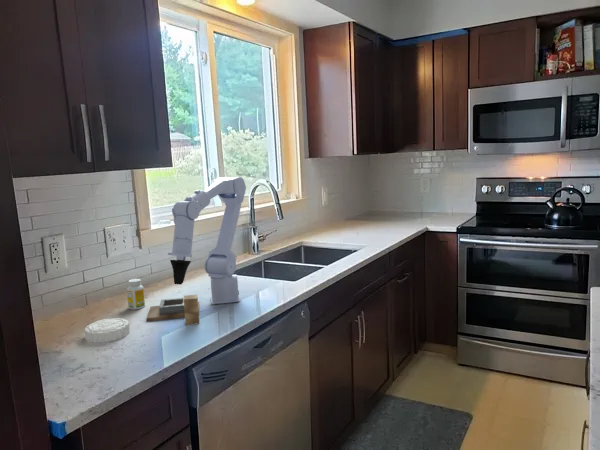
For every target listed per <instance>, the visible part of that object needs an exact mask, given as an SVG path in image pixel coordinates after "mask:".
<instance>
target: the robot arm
mask: <svg viewBox="0 0 600 450" xmlns="http://www.w3.org/2000/svg"><path fill="white" fill-rule="evenodd" d="M246 190H247V186H246V182H245V180H244V178H243V177H242V176H236V177H229V176H228V177H227V176H226V177H221V176H218V177H216V178H215V179H213V182H212V183H211V184H210V185H209V186H208V187H207V188H205V189H204V190H202V189H196V190H194V192H193V194H191V195H190V196H186V197H185V199H184V200H179V201H177V202H176V203H175V204H174V205H173V206H172V207H173V208H171V213H172V216H173V223H174V231H173V242H172V251H171V252H168V253H167V255H168V256H176V259H170V260H169V262H170V264H171V267H172V273H173V283H174V285H183V283H184V282H185V277H186V274H187V270H188V268H189V265H190V264H191V263H192V261H191V260H186V257H188V258H192V256H193V255H192V250H193V239H194V238H193V237H194V228H195V220H196V219H198V218H199V216H200V213H201V212H202V211H203V210H205V208H206V207H208V206H209V205H210V204H211V200H212V199H214V198H216V197H217V196H218V198H219V199H220V201H221V202H222V203H224V204H225V208H224V212H223V217H222V220H221V225H220V229H219V234H218V237H217V242H216V246H215V247H214V248H213V249H211V250H210V251H208V252H209V253H208V255H207V258H206V259H205V261H204V266H203V267H204V272H206V274H208V277H210V290H211V296H210V304H211V305H217V304H220V305H221V304H229V303H238V302H240V296H239V295H240V291H239V282H238V275H237V274H235V272H236V268H237V262H236V261H237V255H236V254H235V253H234V251H233V250H232V248H233V243H234V239H235V234H236V230H237V226H238V222H239V221H238V220H239V216H240V212H241V208H242V203H243V202H244V199H245V194H246Z"/></svg>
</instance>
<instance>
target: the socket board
mask: <svg viewBox="0 0 600 450" xmlns="http://www.w3.org/2000/svg"><path fill="white" fill-rule="evenodd" d="M198 310H199V311H200V301H198ZM181 318H184V319H185V311H184V297H176V298H165V299H160V303H159V305H152V306H150V308H149V310H148V313H147V316H146V322H152V321H164V320H173V319H181Z"/></svg>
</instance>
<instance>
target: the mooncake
mask: <svg viewBox="0 0 600 450" xmlns="http://www.w3.org/2000/svg"><path fill="white" fill-rule="evenodd" d="M83 331H84V337H85V342H89V343H94V344H96V343H98V344H102V343H109V342H113V341H117V340H121V339H123V338H124V337H127V336H128V335H129V333H130V331H131V329H130V322H129V320H128V319H125V318H120V317H115V318H104V319H99V320H97V321H94V322H92V323H89V324H88V325H86V327H85V328H84V330H83Z"/></svg>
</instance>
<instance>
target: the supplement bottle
mask: <svg viewBox="0 0 600 450" xmlns="http://www.w3.org/2000/svg"><path fill="white" fill-rule="evenodd" d="M127 282H128V286H127V288H126V294H127V295H126V296H127V307H128V309H129V310H140V309H143V308H145V306H146V303H145V291H144V286H143V285H142V280H141V279H140V278H132V279H129V280H128V281H127Z"/></svg>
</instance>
